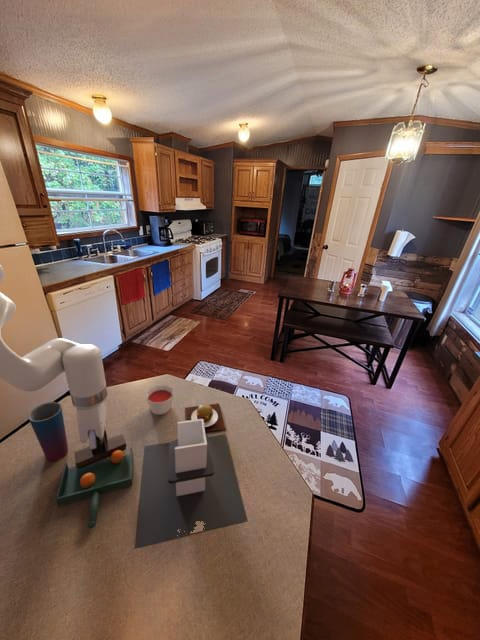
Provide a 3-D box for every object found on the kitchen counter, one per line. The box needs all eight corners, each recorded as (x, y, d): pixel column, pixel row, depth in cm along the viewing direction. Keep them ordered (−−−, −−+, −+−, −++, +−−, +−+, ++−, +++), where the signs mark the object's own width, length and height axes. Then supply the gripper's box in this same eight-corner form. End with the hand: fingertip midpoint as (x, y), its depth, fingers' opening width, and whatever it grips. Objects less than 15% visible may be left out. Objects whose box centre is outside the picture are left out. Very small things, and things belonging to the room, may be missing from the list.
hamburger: (218, 404, 92) (219, 392, 90) (225, 430, 82) (226, 417, 80) (185, 408, 89) (185, 396, 87) (188, 435, 79) (188, 422, 76)
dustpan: (67, 470, 66) (65, 463, 65) (132, 454, 71) (131, 447, 70) (48, 546, 51) (45, 538, 50) (132, 518, 57) (131, 511, 56)
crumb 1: (78, 474, 62) (77, 489, 61) (83, 476, 60) (82, 491, 59) (92, 470, 65) (91, 484, 64) (97, 471, 63) (97, 486, 62)
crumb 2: (107, 464, 66) (108, 451, 68) (114, 465, 69) (115, 453, 71) (119, 460, 66) (120, 447, 68) (125, 462, 69) (126, 449, 71)
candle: (142, 407, 88) (140, 393, 85) (164, 395, 94) (163, 381, 92) (157, 421, 83) (156, 406, 80) (179, 407, 89) (179, 393, 87)
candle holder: (144, 446, 74) (140, 402, 68) (225, 434, 80) (229, 392, 74) (134, 548, 52) (126, 497, 46) (247, 520, 58) (254, 472, 52)
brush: (76, 458, 68) (69, 435, 65) (123, 439, 74) (120, 417, 71) (77, 470, 65) (71, 447, 62) (127, 449, 71) (123, 427, 68)
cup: (37, 466, 66) (22, 423, 60) (47, 445, 72) (35, 403, 66) (67, 461, 68) (55, 419, 62) (75, 441, 74) (65, 400, 68)
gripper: (78, 376, 67) (89, 428, 74) (63, 421, 53) (78, 479, 60) (109, 372, 70) (117, 422, 77) (103, 414, 56) (113, 470, 63)
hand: (100, 447), depth 69 cm, fingers closed on brush, 2 cm apart
